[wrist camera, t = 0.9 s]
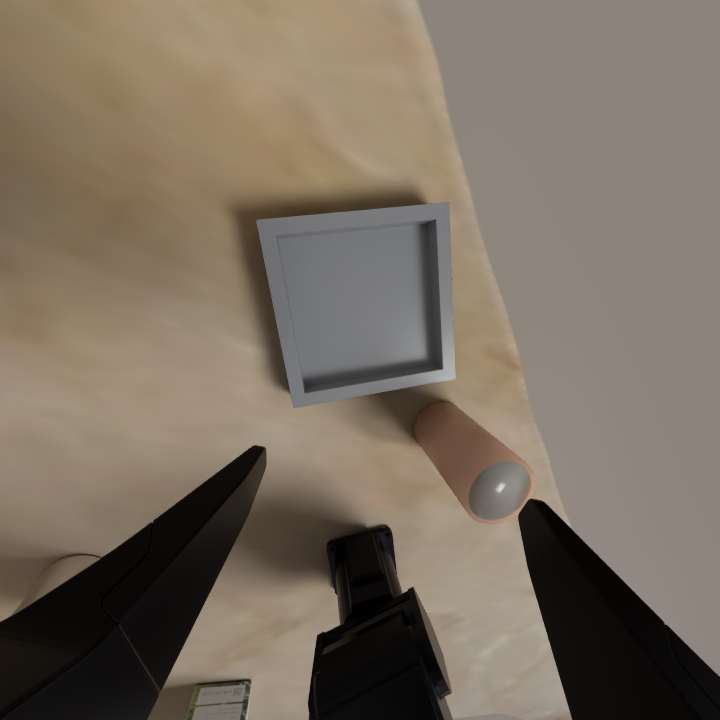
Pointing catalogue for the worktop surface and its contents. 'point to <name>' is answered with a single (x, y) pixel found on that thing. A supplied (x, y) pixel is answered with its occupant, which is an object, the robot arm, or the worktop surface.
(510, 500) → the salmon pink cylinder
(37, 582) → the clear drinking glass
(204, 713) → the syrup box
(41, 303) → the worktop surface
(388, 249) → the slate bin
